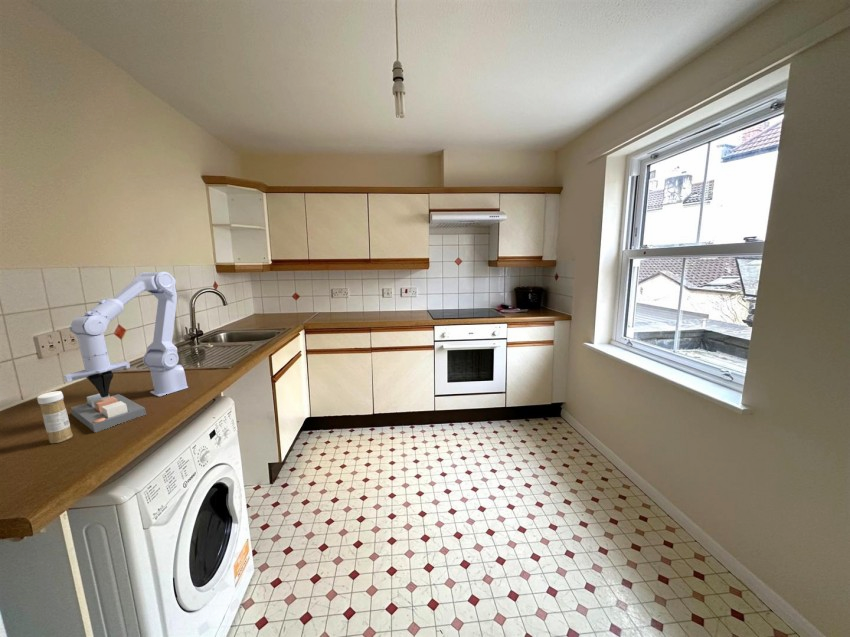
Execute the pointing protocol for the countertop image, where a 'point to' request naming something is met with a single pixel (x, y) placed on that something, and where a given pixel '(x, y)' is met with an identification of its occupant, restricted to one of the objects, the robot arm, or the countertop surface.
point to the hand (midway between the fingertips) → (104, 396)
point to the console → (100, 422)
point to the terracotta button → (104, 403)
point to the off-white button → (114, 409)
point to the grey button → (94, 399)
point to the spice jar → (55, 416)
